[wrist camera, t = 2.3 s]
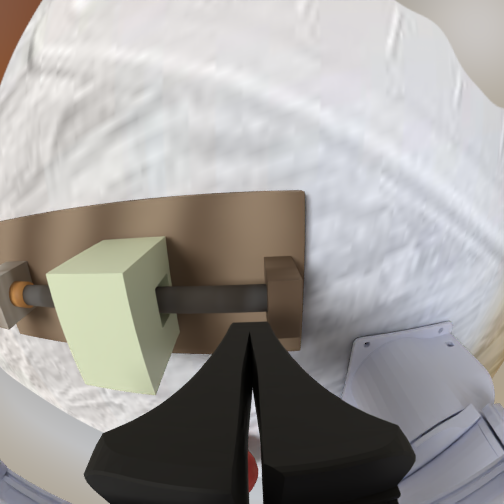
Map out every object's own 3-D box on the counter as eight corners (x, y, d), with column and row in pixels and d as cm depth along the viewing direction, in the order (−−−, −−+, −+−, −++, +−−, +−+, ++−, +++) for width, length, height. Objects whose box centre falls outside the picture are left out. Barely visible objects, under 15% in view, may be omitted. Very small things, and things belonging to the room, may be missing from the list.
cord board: (301, 190, 15) (324, 199, 10) (297, 341, 18) (311, 392, 13) (-3, 221, 15) (-43, 236, 10) (26, 328, 18) (-4, 356, 13)
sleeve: (165, 236, 14) (122, 273, 9) (179, 331, 16) (155, 395, 11) (103, 240, 14) (45, 273, 9) (122, 329, 16) (85, 384, 11)
